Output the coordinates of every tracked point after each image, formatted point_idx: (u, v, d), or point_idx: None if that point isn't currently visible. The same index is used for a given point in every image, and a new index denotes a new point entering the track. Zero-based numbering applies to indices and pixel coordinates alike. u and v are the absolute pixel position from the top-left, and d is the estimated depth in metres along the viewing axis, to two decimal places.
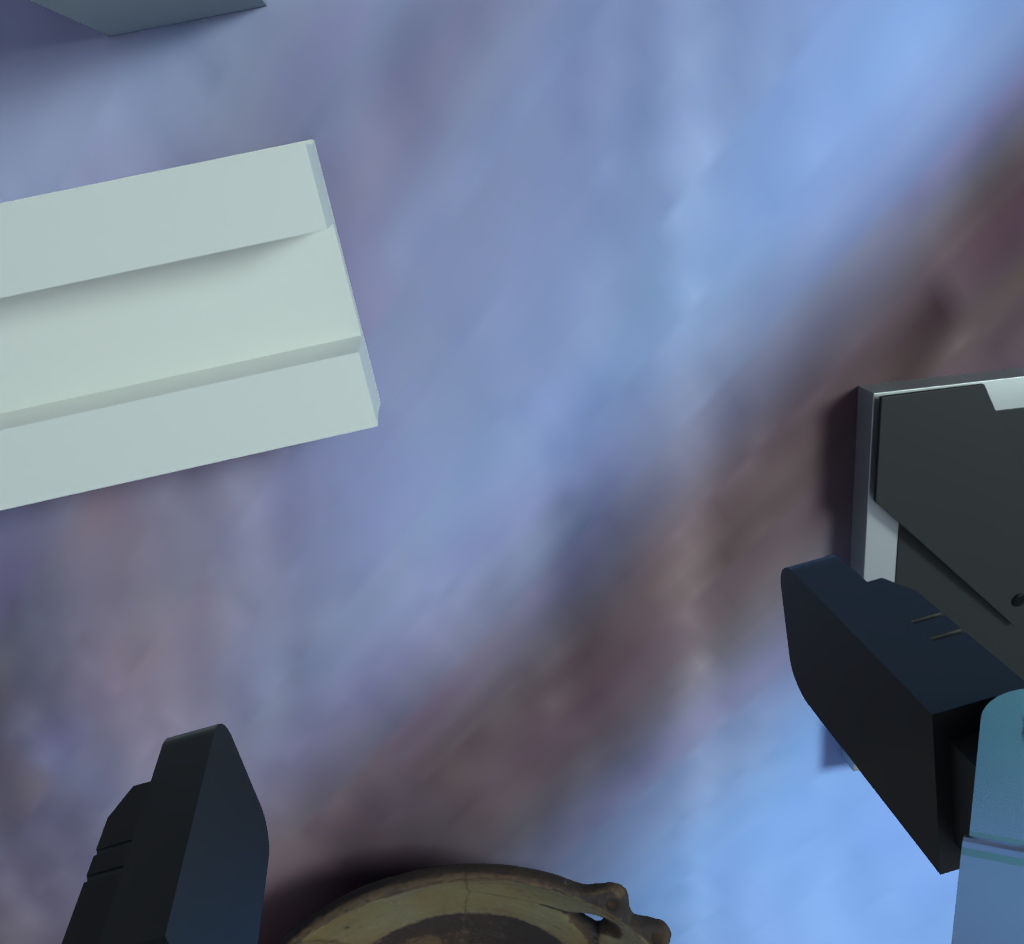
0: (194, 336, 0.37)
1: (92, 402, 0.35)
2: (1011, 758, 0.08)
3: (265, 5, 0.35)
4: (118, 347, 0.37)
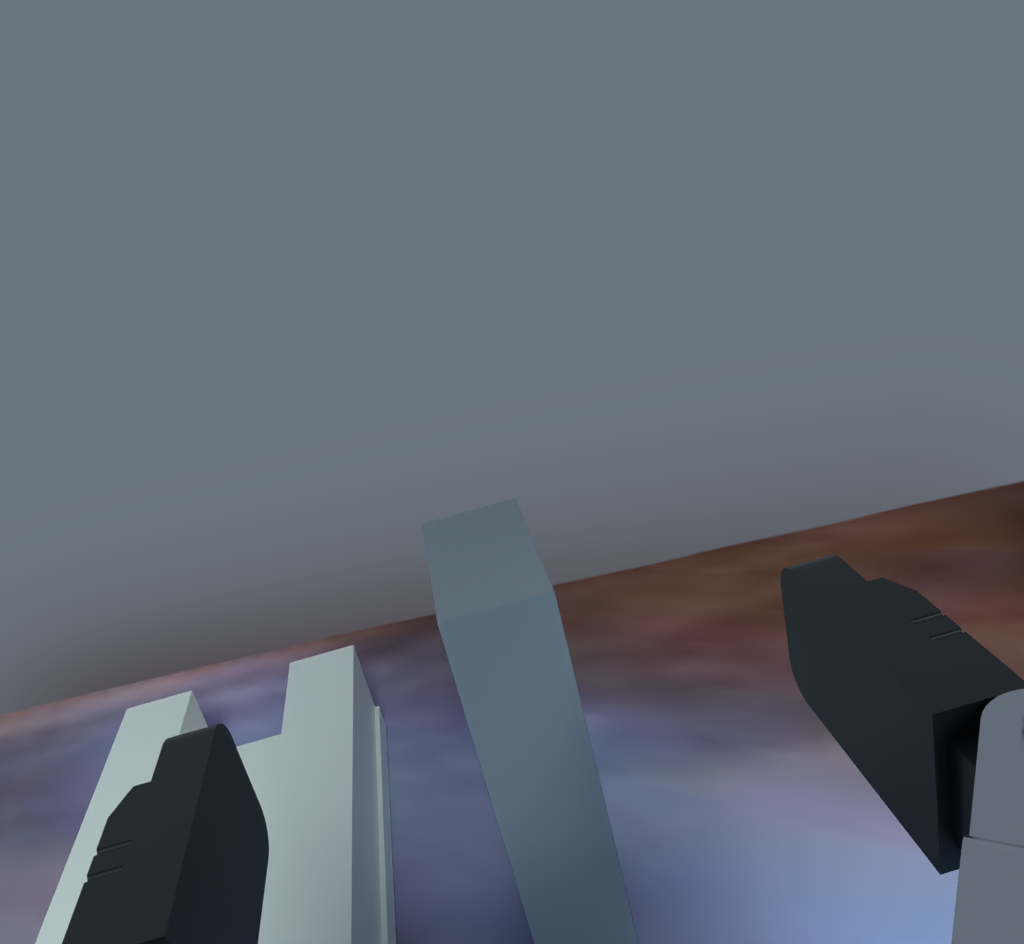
0: None
1: None
2: (1011, 758, 0.08)
3: None
4: None
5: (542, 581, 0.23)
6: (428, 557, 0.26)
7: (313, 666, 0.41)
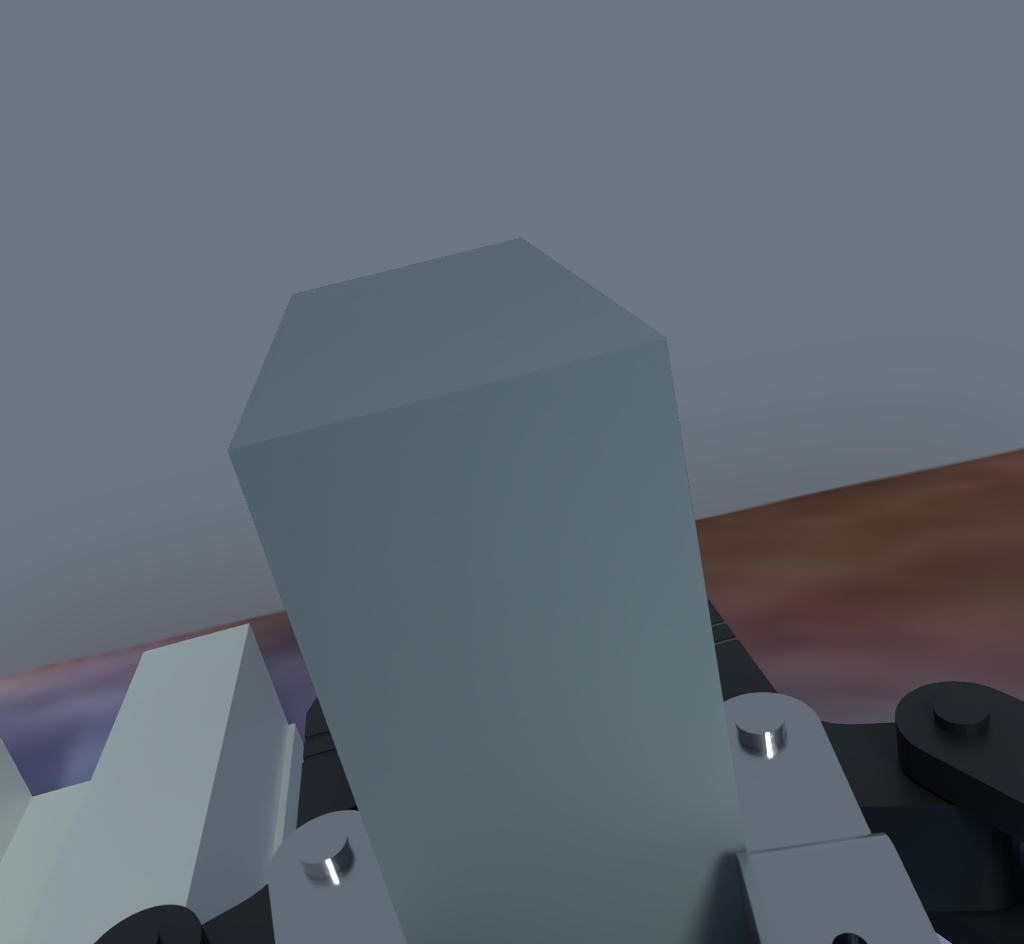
0: None
1: None
2: None
3: None
4: None
5: (614, 327, 0.07)
6: (280, 332, 0.09)
7: (178, 657, 0.25)
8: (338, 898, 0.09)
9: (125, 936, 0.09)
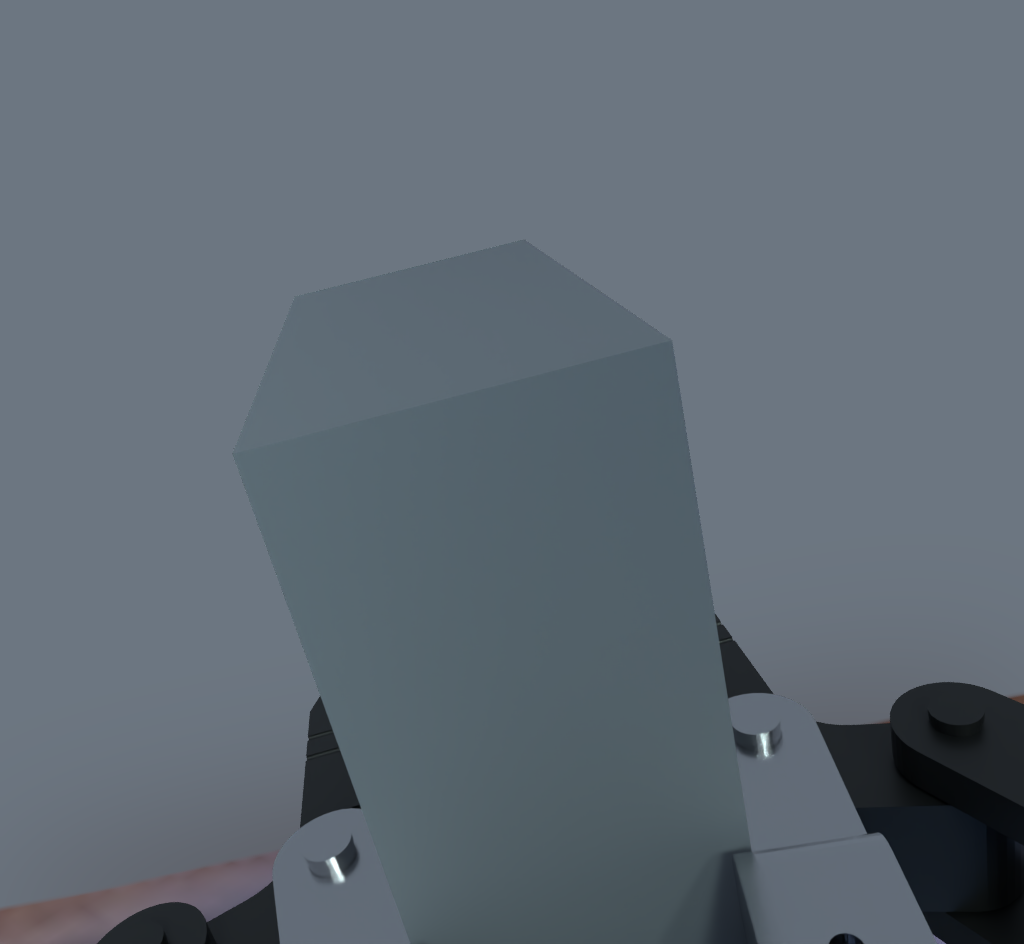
0: None
1: None
2: None
3: None
4: None
5: (618, 328, 0.07)
6: (283, 334, 0.09)
7: None
8: (342, 897, 0.09)
9: (129, 935, 0.09)
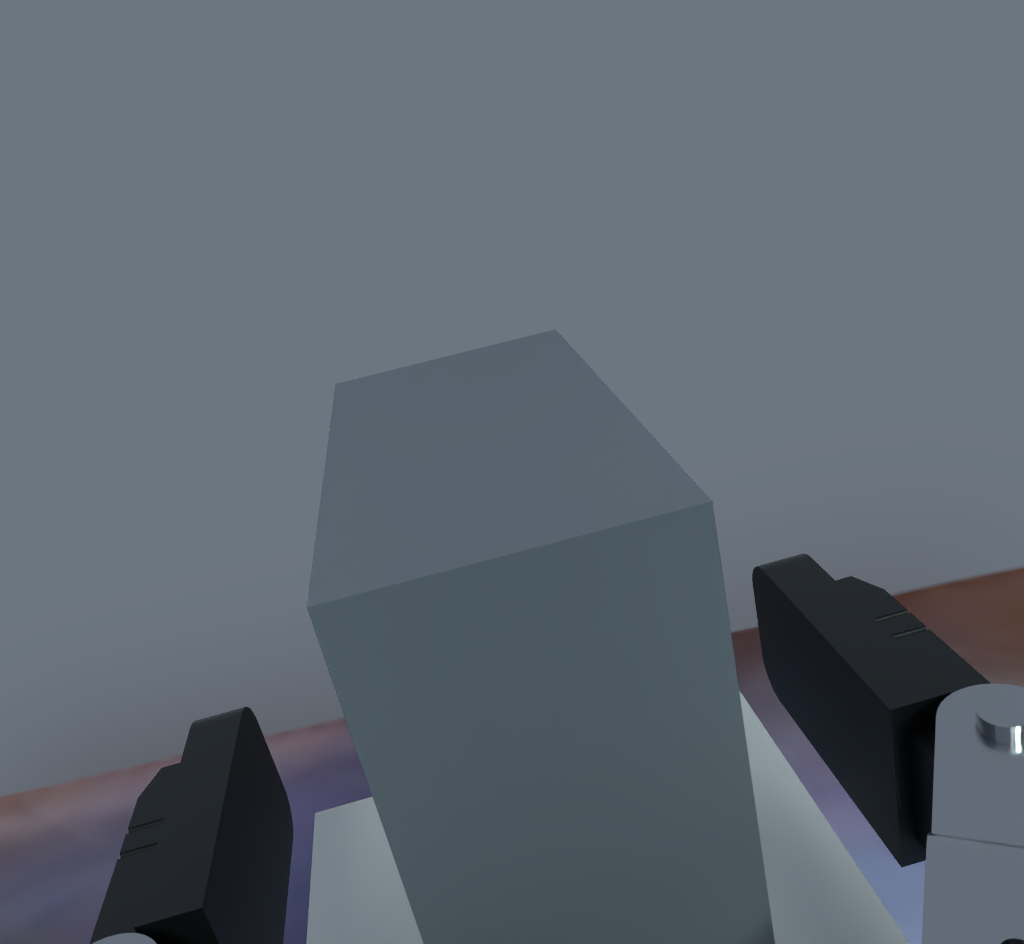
0: None
1: None
2: (964, 752, 0.09)
3: None
4: None
5: (661, 478, 0.07)
6: (332, 440, 0.10)
7: None
8: None
9: None
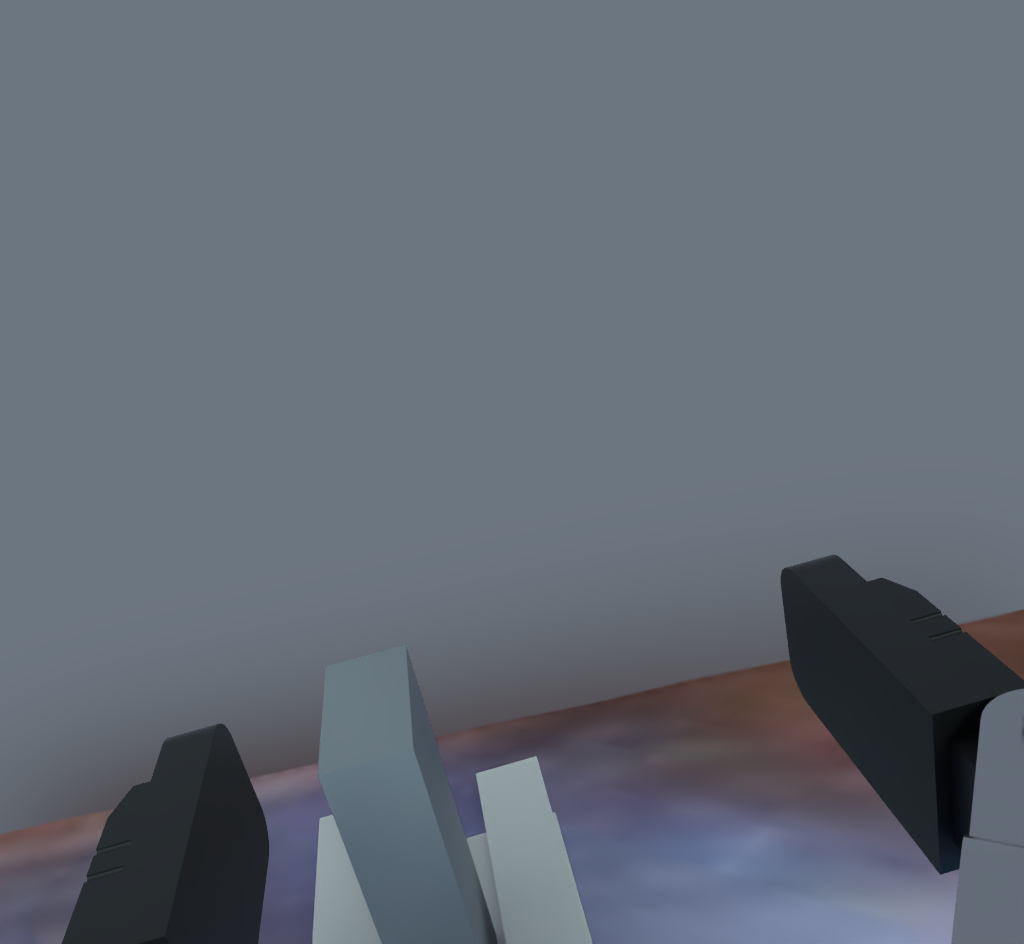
0: None
1: None
2: (1011, 758, 0.08)
3: None
4: None
5: (406, 737, 0.28)
6: (324, 704, 0.31)
7: (501, 779, 0.43)
8: None
9: None
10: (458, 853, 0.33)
